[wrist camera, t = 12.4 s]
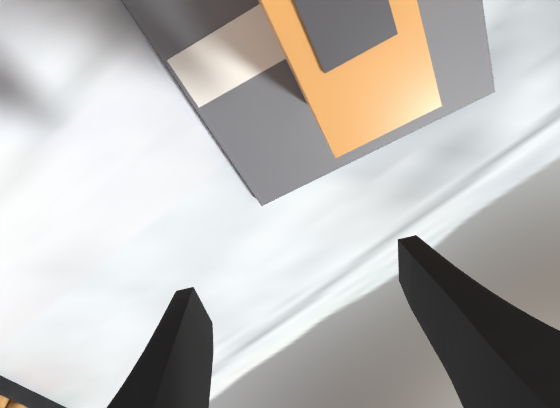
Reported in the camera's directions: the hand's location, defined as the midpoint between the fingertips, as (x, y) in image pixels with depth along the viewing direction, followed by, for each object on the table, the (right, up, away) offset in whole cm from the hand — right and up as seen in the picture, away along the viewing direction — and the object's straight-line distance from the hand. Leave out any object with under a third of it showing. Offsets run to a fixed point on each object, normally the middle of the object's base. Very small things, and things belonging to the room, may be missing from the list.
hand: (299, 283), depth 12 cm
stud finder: (+1, +12, +3) cm, 12 cm away
